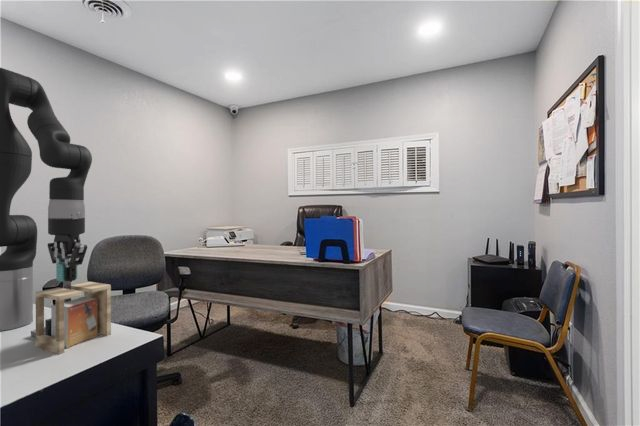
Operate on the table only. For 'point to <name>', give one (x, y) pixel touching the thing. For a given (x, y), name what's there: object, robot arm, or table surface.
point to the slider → (67, 285)
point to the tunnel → (59, 295)
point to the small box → (77, 320)
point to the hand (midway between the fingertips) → (67, 279)
